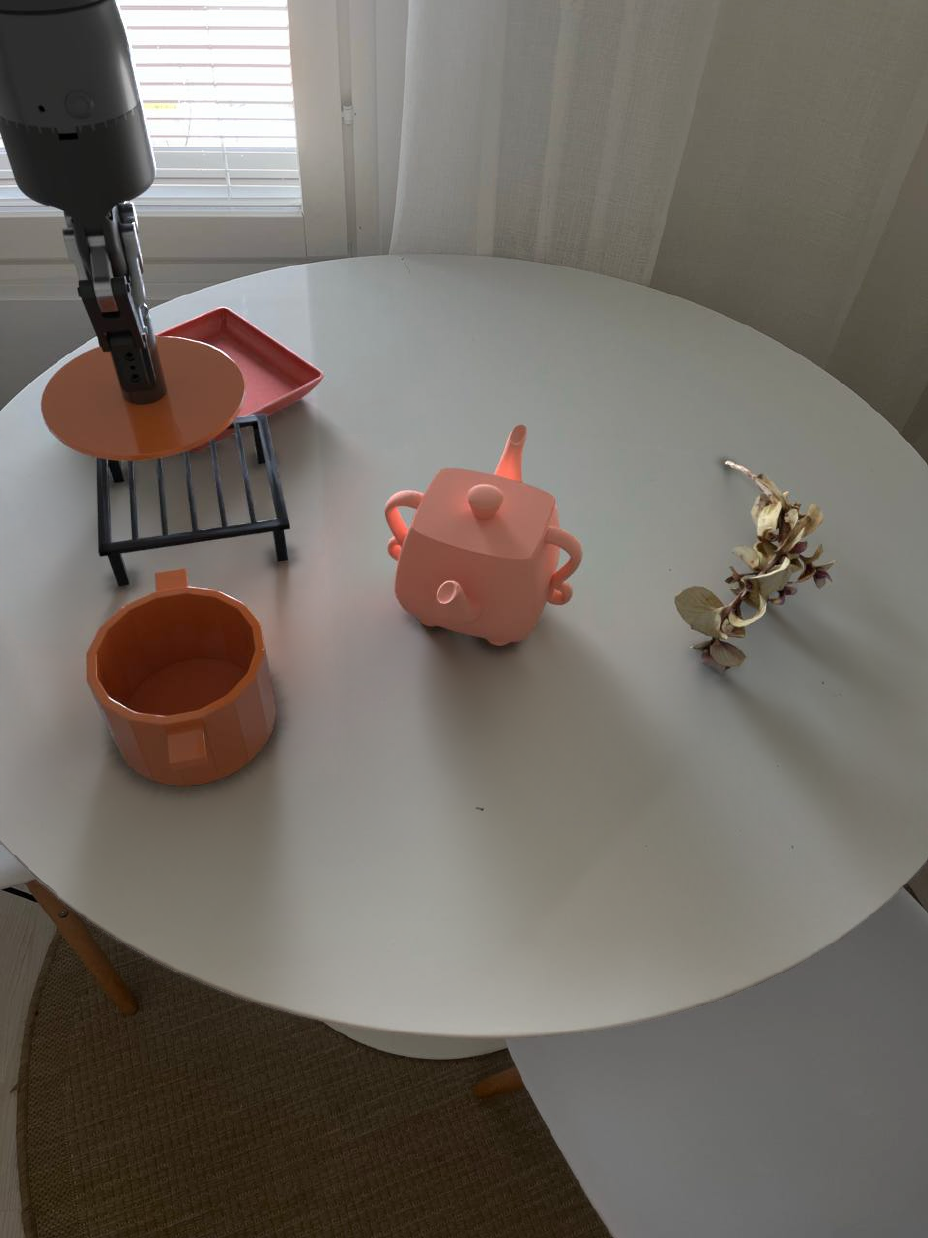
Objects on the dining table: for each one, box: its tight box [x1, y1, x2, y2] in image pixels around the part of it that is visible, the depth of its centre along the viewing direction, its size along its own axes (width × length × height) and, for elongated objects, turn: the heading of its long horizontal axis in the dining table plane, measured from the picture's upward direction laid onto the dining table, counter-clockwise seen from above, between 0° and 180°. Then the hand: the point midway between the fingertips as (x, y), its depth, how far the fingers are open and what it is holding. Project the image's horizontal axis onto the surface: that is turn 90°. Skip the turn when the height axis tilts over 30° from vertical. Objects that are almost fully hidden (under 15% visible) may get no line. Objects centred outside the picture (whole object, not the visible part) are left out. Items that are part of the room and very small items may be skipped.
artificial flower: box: [674, 460, 837, 676], centre depth 83 cm, size 10×14×30 cm
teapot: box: [384, 424, 583, 647], centre depth 77 cm, size 15×17×13 cm
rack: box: [95, 414, 291, 587], centre depth 84 cm, size 16×16×5 cm
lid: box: [40, 303, 246, 462], centre depth 60 cm, size 13×13×7 cm
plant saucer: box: [154, 306, 325, 453], centre depth 97 cm, size 18×18×3 cm
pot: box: [85, 567, 277, 787], centre depth 69 cm, size 12×18×8 cm
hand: (138, 370), depth 61 cm, fingers closed on lid, 3 cm apart
